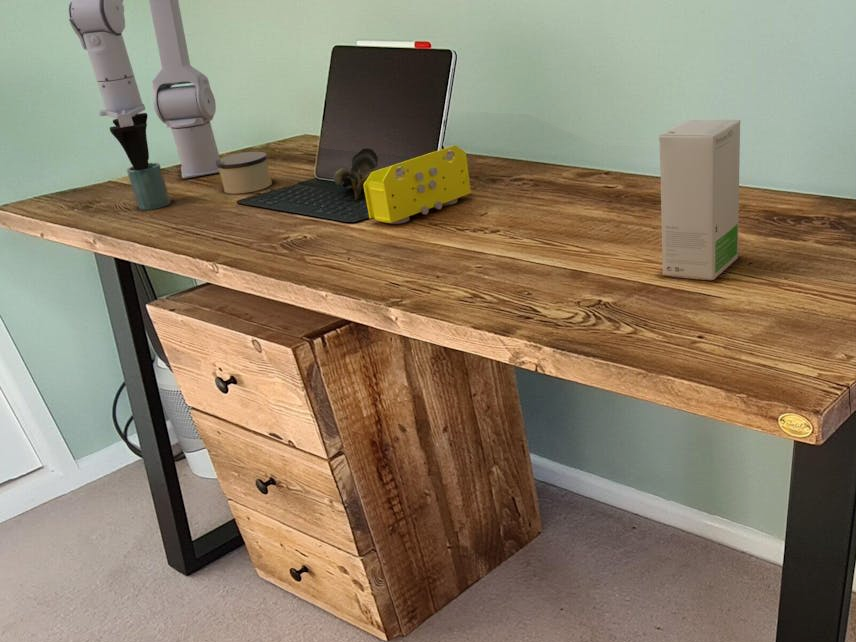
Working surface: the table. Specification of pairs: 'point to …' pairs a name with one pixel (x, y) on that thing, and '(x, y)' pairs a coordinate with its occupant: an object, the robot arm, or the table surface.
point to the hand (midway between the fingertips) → (142, 164)
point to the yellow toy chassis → (417, 185)
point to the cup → (149, 187)
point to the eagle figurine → (357, 171)
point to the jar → (244, 172)
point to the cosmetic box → (700, 197)
